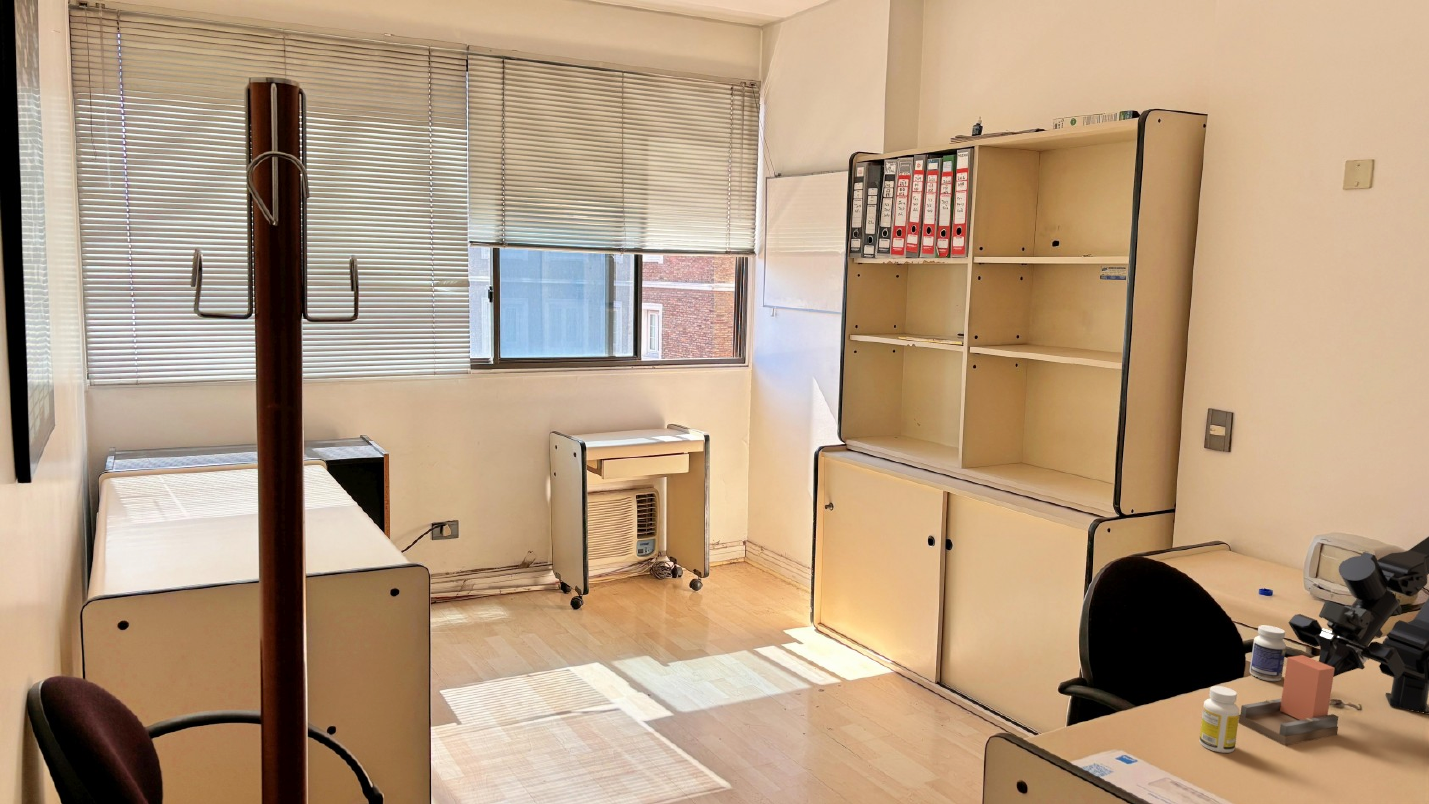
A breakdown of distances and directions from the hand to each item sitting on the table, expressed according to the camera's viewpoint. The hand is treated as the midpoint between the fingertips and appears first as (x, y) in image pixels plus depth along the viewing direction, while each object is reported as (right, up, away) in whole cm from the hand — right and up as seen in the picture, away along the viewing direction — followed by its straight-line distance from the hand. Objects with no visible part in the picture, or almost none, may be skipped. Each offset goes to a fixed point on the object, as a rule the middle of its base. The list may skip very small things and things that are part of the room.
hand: (1317, 679), depth 180 cm
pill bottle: (+3, -6, +23) cm, 23 cm away
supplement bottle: (-23, -9, -10) cm, 27 cm away
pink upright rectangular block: (-3, -6, 0) cm, 7 cm away
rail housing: (-6, -8, -2) cm, 10 cm away
